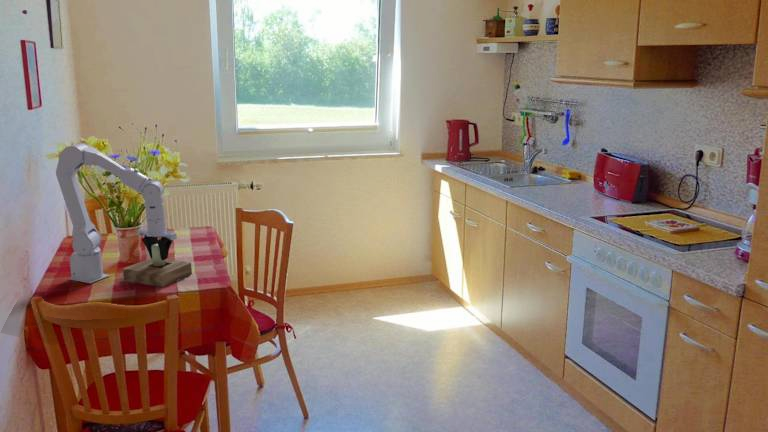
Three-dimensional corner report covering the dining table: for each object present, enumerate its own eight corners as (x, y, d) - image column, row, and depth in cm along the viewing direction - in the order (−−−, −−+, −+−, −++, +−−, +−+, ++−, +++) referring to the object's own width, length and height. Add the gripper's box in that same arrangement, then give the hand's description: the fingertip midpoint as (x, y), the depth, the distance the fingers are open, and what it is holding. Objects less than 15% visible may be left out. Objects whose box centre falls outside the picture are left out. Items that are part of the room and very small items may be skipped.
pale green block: (150, 265, 209) (148, 246, 208) (159, 261, 213) (157, 243, 211) (159, 266, 208) (158, 247, 206) (168, 263, 211) (166, 244, 210)
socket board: (123, 280, 208) (122, 268, 207) (154, 267, 220) (153, 256, 219) (162, 287, 201) (161, 275, 200) (191, 273, 214) (191, 262, 213)
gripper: (129, 218, 206) (133, 259, 209) (164, 223, 200) (167, 264, 204) (145, 214, 212) (148, 253, 216) (179, 218, 207) (182, 258, 210)
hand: (159, 258), depth 210 cm, fingers closed on pale green block, 4 cm apart
